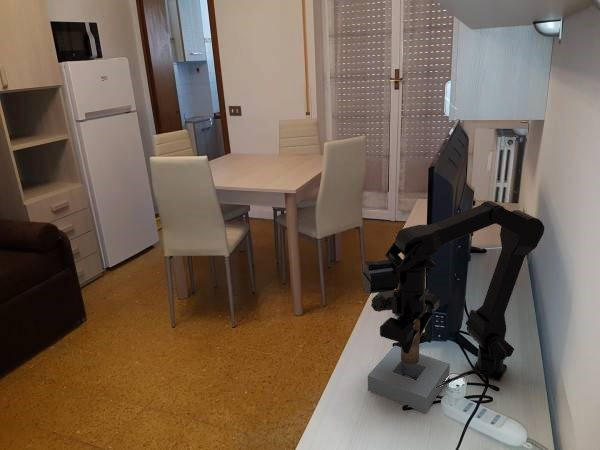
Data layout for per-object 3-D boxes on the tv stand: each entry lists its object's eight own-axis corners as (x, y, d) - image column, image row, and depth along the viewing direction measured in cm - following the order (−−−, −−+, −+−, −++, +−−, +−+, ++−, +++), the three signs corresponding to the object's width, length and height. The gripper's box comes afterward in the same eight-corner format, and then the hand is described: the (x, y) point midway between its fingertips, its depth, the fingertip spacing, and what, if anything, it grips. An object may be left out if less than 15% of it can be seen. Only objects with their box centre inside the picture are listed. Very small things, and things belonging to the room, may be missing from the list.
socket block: (394, 358, 118) (394, 345, 116) (449, 377, 110) (449, 363, 108) (367, 389, 107) (367, 375, 106) (425, 413, 99) (426, 397, 98)
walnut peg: (405, 352, 109) (406, 314, 106) (421, 357, 107) (422, 319, 103) (398, 360, 106) (398, 322, 103) (414, 366, 104) (415, 327, 100)
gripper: (396, 263, 112) (395, 319, 117) (357, 295, 98) (358, 357, 103) (441, 273, 105) (438, 332, 110) (406, 308, 91) (405, 374, 97)
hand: (410, 347), depth 105 cm, fingers closed on walnut peg, 4 cm apart
